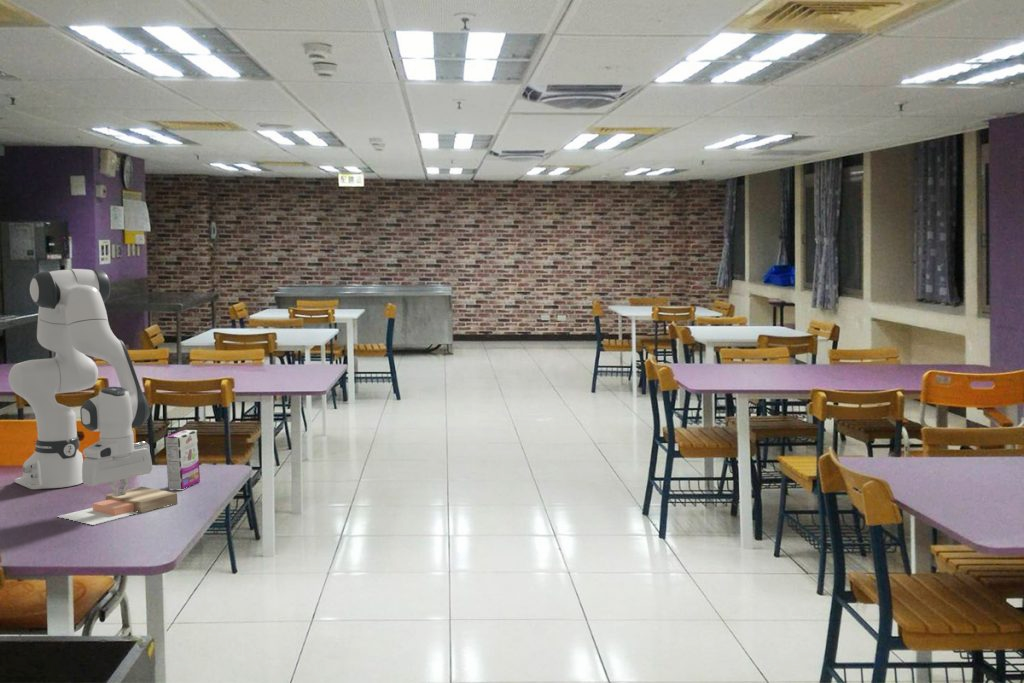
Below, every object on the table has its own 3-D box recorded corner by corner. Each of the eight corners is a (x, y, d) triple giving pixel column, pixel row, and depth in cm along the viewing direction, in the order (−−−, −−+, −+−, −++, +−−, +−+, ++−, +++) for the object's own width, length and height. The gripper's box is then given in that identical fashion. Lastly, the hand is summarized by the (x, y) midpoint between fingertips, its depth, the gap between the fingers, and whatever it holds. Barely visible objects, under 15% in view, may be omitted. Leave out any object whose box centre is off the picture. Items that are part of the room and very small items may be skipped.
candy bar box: (185, 481, 323) (183, 429, 321) (200, 482, 322) (198, 429, 320) (166, 490, 312) (164, 436, 310) (182, 491, 311) (179, 436, 309)
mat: (56, 517, 282) (56, 516, 282) (102, 506, 294) (102, 505, 294) (92, 525, 273) (92, 524, 273) (138, 514, 285) (138, 512, 285)
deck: (105, 505, 294) (105, 495, 294) (141, 496, 304) (141, 486, 304) (141, 513, 285) (140, 502, 285) (177, 503, 295) (177, 493, 295)
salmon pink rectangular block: (92, 510, 288) (92, 503, 288) (111, 505, 293) (111, 498, 292) (115, 515, 282) (114, 508, 282) (134, 510, 287) (133, 503, 287)
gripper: (141, 439, 298) (143, 486, 299) (77, 451, 281) (80, 501, 282) (156, 441, 294) (158, 489, 295) (91, 453, 277) (94, 504, 279)
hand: (119, 495), depth 289 cm, fingers closed
